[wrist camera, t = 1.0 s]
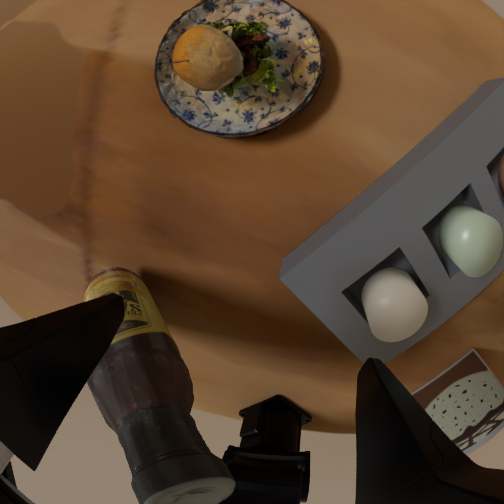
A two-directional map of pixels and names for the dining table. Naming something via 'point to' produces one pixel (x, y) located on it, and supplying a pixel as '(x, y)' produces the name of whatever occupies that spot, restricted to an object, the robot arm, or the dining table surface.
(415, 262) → the panel
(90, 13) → the dining table surface
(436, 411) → the food container
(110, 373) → the sauce bottle
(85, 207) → the dining table surface
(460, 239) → the sage button
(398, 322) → the cream button
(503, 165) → the terracotta button
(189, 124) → the burger
